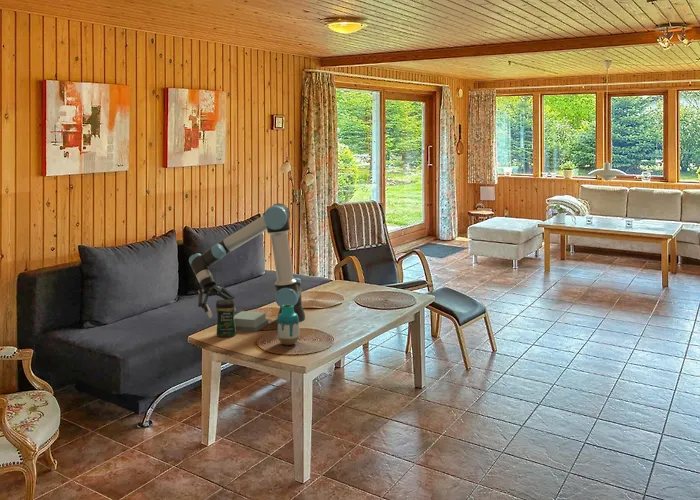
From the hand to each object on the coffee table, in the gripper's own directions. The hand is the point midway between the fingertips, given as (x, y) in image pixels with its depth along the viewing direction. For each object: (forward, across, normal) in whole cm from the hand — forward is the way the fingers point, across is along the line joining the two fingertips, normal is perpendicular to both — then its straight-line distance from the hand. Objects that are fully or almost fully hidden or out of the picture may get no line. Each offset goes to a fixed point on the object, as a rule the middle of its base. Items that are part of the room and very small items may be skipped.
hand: (223, 314), depth 325 cm
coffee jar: (+9, -1, -7) cm, 11 cm away
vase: (+33, -15, +17) cm, 40 cm away
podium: (+5, -17, -10) cm, 21 cm away
